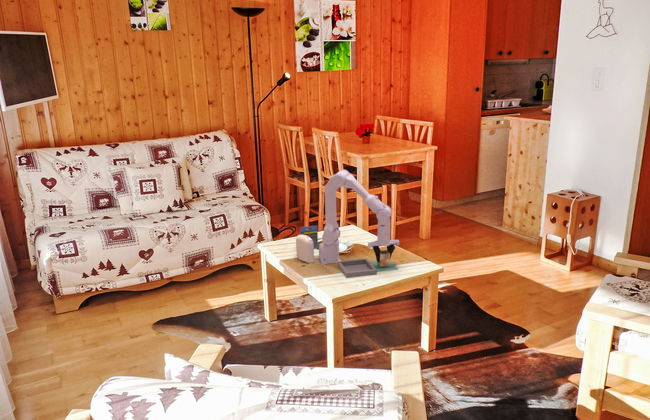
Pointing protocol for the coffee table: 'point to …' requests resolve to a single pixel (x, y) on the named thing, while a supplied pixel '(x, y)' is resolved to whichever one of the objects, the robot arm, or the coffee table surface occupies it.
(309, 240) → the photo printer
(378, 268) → the teal board
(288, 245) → the coffee table surface
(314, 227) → the label tape cartridge
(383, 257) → the maple block
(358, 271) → the parts bin
